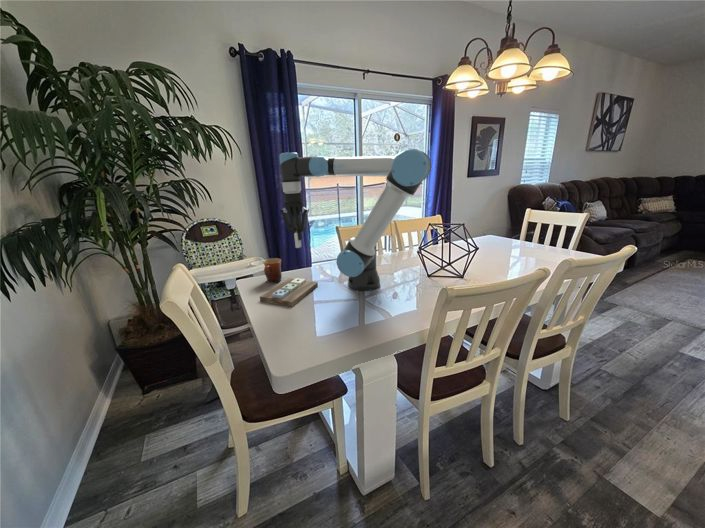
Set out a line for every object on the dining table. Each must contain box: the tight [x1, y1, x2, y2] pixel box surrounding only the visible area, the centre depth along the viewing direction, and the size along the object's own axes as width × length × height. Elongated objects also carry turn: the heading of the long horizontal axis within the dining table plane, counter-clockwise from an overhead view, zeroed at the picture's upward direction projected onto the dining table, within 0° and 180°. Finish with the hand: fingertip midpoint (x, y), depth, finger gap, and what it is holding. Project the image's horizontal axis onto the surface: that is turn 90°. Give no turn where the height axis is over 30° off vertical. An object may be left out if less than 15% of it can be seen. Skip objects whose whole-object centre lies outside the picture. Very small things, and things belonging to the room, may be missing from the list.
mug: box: [262, 257, 282, 283], centre depth 140 cm, size 12×9×10 cm
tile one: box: [291, 277, 307, 286], centre depth 134 cm, size 5×5×4 cm
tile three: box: [272, 289, 289, 299], centre depth 122 cm, size 5×5×4 cm
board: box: [259, 278, 319, 307], centre depth 128 cm, size 16×22×2 cm
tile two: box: [282, 283, 298, 292], centre depth 128 cm, size 5×5×4 cm
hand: (298, 247), depth 127 cm, fingers closed
